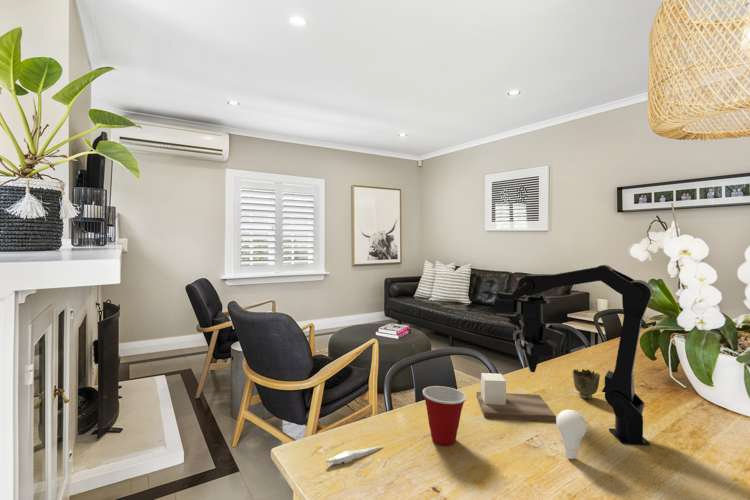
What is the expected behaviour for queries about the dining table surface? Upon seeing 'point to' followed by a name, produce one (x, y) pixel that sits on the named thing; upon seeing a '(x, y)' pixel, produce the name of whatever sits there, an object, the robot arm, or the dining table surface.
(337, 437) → the dining table surface
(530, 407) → the board
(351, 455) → the white tapered spike
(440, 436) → the plastic cup
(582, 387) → the dark bronze hollow piece
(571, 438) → the lightbulb
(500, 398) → the off-white cube
